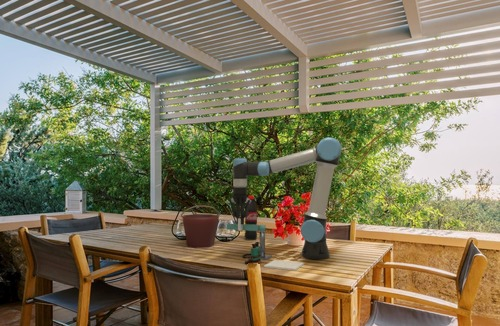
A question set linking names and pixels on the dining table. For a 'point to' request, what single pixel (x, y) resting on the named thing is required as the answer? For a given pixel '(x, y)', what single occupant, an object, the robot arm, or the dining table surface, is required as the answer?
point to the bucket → (200, 228)
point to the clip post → (263, 246)
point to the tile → (284, 265)
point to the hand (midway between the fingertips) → (240, 230)
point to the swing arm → (247, 227)
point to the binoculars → (253, 254)
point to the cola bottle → (251, 220)
